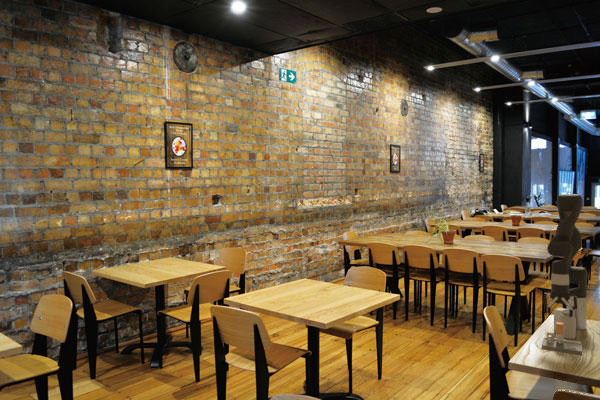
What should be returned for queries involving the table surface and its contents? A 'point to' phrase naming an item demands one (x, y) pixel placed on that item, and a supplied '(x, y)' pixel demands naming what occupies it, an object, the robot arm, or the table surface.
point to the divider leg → (559, 333)
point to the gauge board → (567, 346)
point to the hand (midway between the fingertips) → (559, 315)
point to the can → (568, 325)
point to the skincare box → (557, 314)
